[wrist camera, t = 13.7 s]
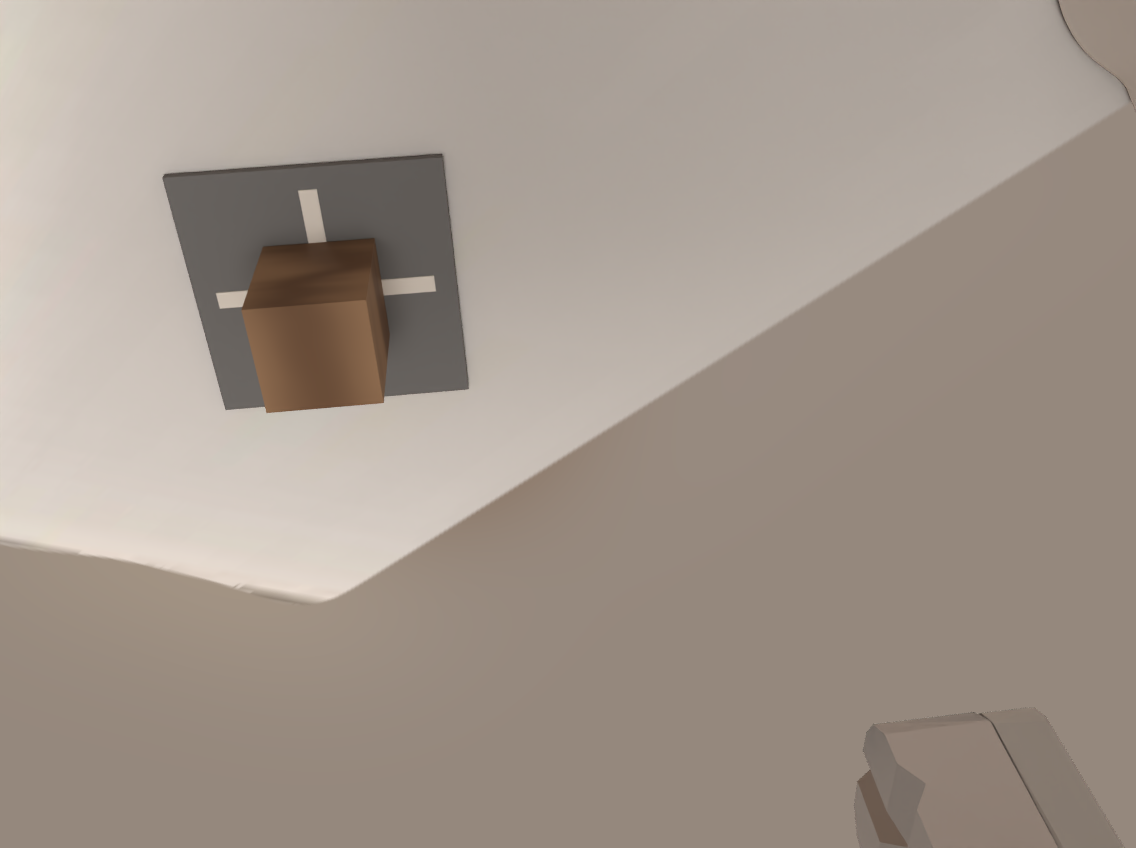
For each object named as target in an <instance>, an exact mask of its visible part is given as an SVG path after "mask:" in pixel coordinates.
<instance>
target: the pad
mask: <svg viewBox="0 0 1136 848" xmlns="http://www.w3.org/2000/svg"><path fill="white" fill-rule="evenodd" d="M163 182H164V186H165V189H166V193H167V197H168V200H169V204H170V208H171V211H172V215H173V219H174V222H175V226H176V230H177V233H178V237H179V241H180V244H181V248H182V252H183V255H184V259H185V263H186V266H187V270H188V274H189V277H190V281H191V285H192V288H193V292H194V296H195V299H196V303H197V307H198V310H199V314H200V318H201V321H202V325H203V329H204V332H205V336H206V340H207V343H208V347H209V351H210V354H211V358H212V362H213V365H214V369H215V373H216V376H217V380H218V384H219V387H220V391H221V395H222V398H223V402H224V406H225V409H226V410H231V409H243V408H254V407H265V404H264V400H263V396H262V392H261V388H260V384H259V380H258V376H257V372H256V368H255V364H254V360H253V356H252V352H251V347H250V343H249V339H248V335H247V331H246V327H245V323H244V319H243V315H242V311H241V309H242V306H243V304H244V301H245V298H246V295H247V292H248V289H249V286H250V283H251V280H252V277H253V274H254V271H255V268H256V266H257V263H258V260H259V257H260V254H261V251H262V248H263V247H267V246H280V245H293V244H306V243H319V242H332V241H344V240H357V239H370V238H375V244H376V250H377V256H378V262H379V269H380V275H381V281H382V288H383V294H384V300H385V307H386V313H387V319H388V326H389V332H390V339H389V349H388V360H387V371H386V382H385V392H384V396H395V395H407V394H418V393H430V392H442V391H453V390H465V389H469V387H468V377H467V368H466V359H465V350H464V341H463V333H462V324H461V315H460V306H459V297H458V288H457V280H456V271H455V262H454V253H453V244H452V235H451V227H450V218H449V209H448V200H447V191H446V182H445V174H444V165H443V156H442V154H437V155H424V156H410V157H396V158H383V159H369V160H356V161H342V162H329V163H315V164H301V165H288V166H274V167H261V168H247V169H233V170H220V171H206V172H193V173H179V174H165V175H164V176H163Z"/></svg>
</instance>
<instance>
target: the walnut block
mask: <svg viewBox="0 0 1136 848" xmlns="http://www.w3.org/2000/svg"><path fill="white" fill-rule="evenodd" d="M241 311H242V315H243V319H244V323H245V327H246V331H247V335H248V339H249V343H250V347H251V352H252V356H253V360H254V364H255V368H256V372H257V376H258V380H259V384H260V388H261V392H262V396H263V400H264V404H265V408H266V412H267V413H272V412H283V411H295V410H307V409H318V408H330V407H342V406H353V405H365V404H377V403H384V392H385V382H386V371H387V360H388V349H389V339H390V332H389V326H388V319H387V313H386V307H385V300H384V294H383V288H382V281H381V275H380V269H379V262H378V256H377V250H376V244H375V238H370V239H357V240H344V241H332V242H319V243H306V244H293V245H280V246H267V247H263V248H262V251H261V254H260V257H259V260H258V263H257V266H256V268H255V271H254V274H253V277H252V280H251V283H250V286H249V289H248V292H247V295H246V298H245V301H244V304H243V306H242V309H241Z"/></svg>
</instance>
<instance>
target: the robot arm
mask: <svg viewBox="0 0 1136 848" xmlns="http://www.w3.org/2000/svg"><path fill="white" fill-rule="evenodd" d="M1059 4H1060V8H1061V11H1062V13H1063V16H1064V19H1065V21H1066V23H1067V25H1068V27H1069V29H1070V31H1071V33H1072V35H1073V36H1074V38H1075V39H1076V41H1077V42H1078V43H1079V45H1080V46H1081V47H1082V49H1083V50H1084V51H1085V52H1086V53H1087V54H1088V55H1089V56H1090V57H1091V58H1092V59H1093V60H1094V61H1095V62H1097V63H1098V64H1099V65H1101V66H1102V67H1103V68H1105V69H1106V70H1107V71H1109V72H1110V73H1112V74H1113V75H1114V76H1116V77H1117V78H1118V79H1119V80H1120V81H1121V82H1122V83H1123V84H1124V85H1125V87H1126V88H1127V90H1128V93H1129V96H1130V99H1131V101H1132V104H1133V106H1134V108H1135V111H1136V0H1059ZM863 752H864V754H865V757H866V759H867V762H868V765H869V767H870V770H869V771H868V772H867V773H866V774H865V775H864V776H863V777H862V778H860V779H859V780H858V781H857V788H856V795H855V803H854V808H855V820H856V830H857V837H858V841H859V845H860V848H1125V847H1124V846H1123V844H1122V842H1121V840H1120V839H1119V837H1118V836H1117V834H1116V832H1115V831H1114V829H1113V827H1112V825H1111V824H1110V822H1109V820H1108V819H1107V817H1106V815H1105V814H1104V812H1103V811H1102V809H1101V807H1100V806H1099V804H1098V802H1097V801H1096V799H1095V797H1094V796H1093V794H1092V792H1091V791H1090V789H1089V787H1088V786H1087V784H1086V782H1085V781H1084V779H1083V777H1082V776H1081V774H1080V772H1079V771H1078V769H1077V767H1076V766H1075V764H1074V762H1073V761H1072V759H1071V757H1070V756H1069V754H1068V752H1067V751H1066V749H1065V747H1064V746H1063V744H1062V742H1061V741H1060V739H1059V737H1058V736H1057V734H1056V732H1055V731H1054V729H1053V728H1052V726H1051V724H1050V722H1049V721H1048V719H1047V717H1046V716H1045V715H1043V714H1042V713H1041V712H1040V711H1038V710H1037V709H1036V708H1020V709H1011V710H1002V711H994V712H985V713H979V714H977V713H975V712H971V713H962V714H954V715H945V716H937V717H929V718H921V719H912V720H904V721H895V722H887V723H879V724H873V725H872V726H871V727H870V729H869V730H868V731H867V733H866V738H865V743H864V748H863Z"/></svg>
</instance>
